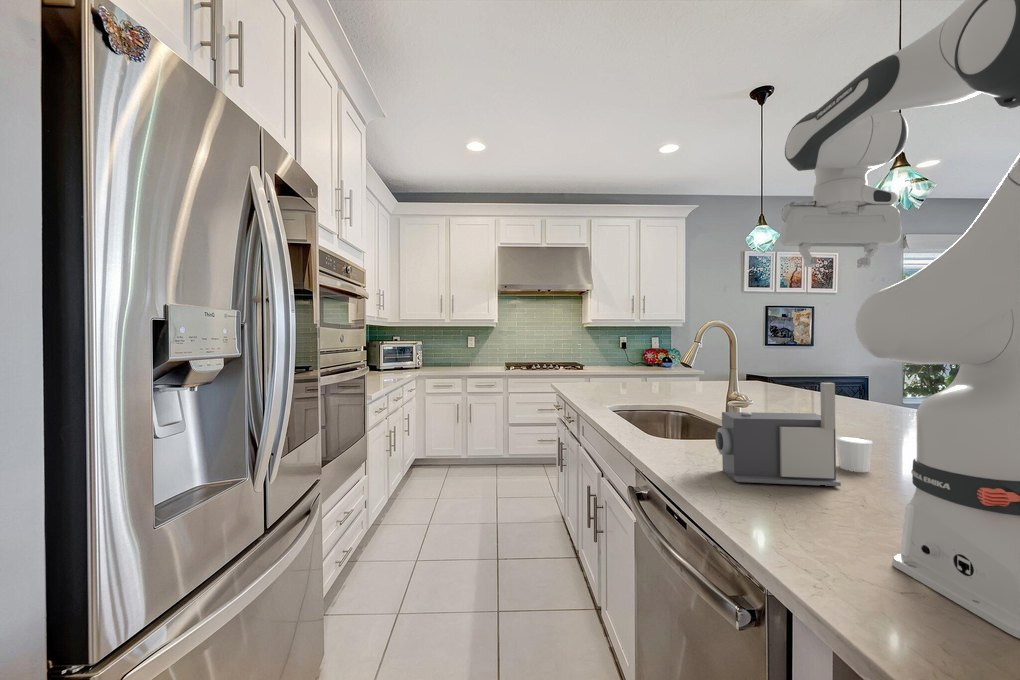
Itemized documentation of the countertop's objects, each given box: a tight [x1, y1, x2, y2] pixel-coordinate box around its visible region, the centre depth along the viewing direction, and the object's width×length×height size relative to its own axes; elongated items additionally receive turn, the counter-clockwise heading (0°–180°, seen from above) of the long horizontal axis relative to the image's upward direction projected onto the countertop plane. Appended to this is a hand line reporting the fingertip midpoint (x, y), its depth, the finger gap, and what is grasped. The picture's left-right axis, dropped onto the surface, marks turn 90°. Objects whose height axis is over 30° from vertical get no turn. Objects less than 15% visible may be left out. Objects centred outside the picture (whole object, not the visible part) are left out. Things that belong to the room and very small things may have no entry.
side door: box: [780, 382, 836, 479], centre depth 89 cm, size 1×10×20 cm, turn 80°
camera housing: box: [714, 411, 842, 487], centre depth 94 cm, size 10×22×15 cm, turn 80°
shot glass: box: [835, 436, 874, 473], centre depth 100 cm, size 7×7×7 cm
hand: (836, 266), depth 86 cm, fingers open, 8 cm apart
